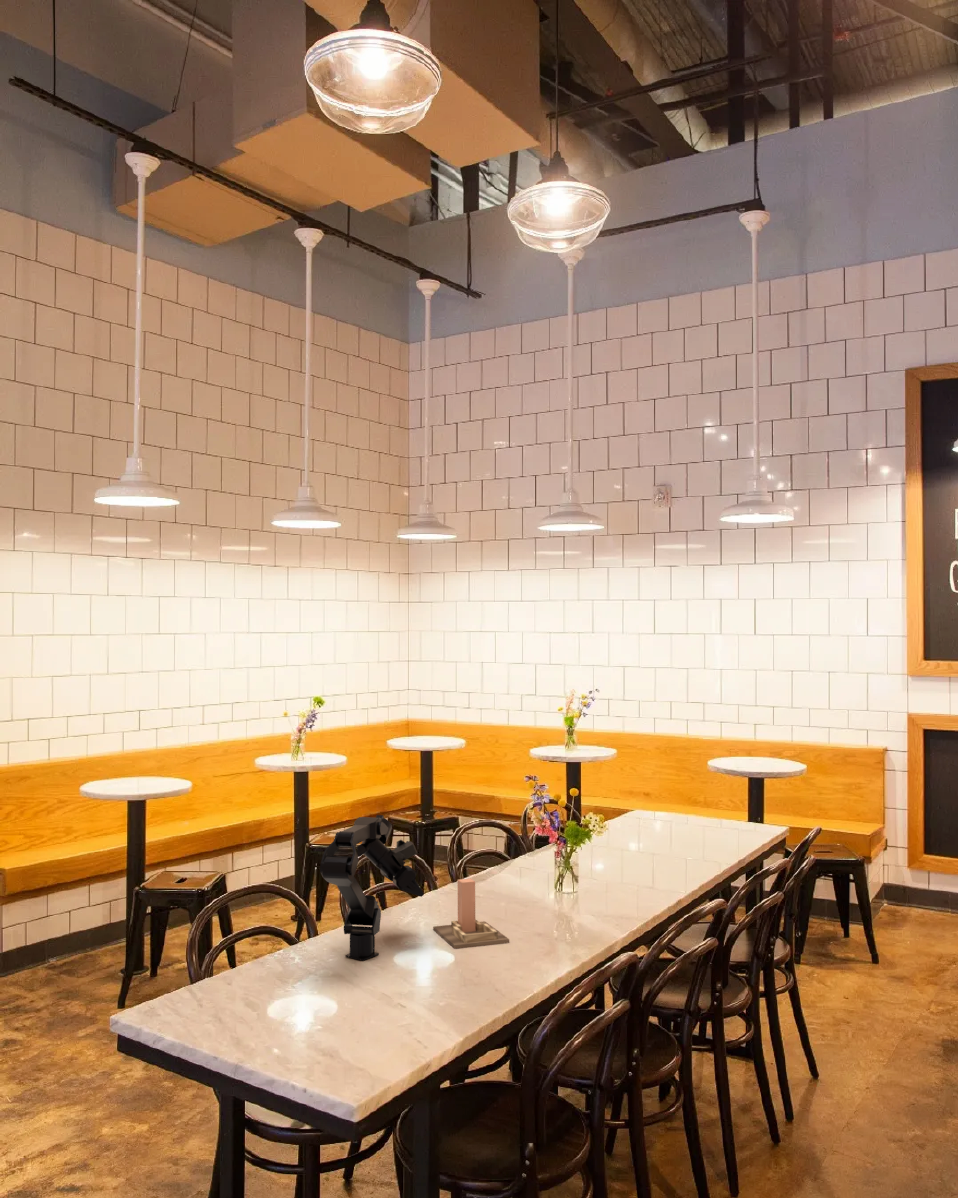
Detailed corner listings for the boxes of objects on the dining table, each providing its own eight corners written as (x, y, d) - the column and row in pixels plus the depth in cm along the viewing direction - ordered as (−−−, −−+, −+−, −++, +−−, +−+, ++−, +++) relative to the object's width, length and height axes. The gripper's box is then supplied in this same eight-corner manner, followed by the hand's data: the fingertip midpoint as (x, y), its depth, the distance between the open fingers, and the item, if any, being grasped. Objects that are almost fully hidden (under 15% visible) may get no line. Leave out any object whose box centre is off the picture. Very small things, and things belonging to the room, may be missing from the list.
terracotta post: (462, 932, 286) (461, 882, 287) (457, 929, 290) (457, 879, 291) (475, 931, 287) (475, 881, 288) (470, 927, 291) (470, 878, 292)
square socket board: (509, 942, 279) (509, 931, 279) (454, 949, 274) (454, 937, 274) (484, 924, 298) (484, 914, 298) (433, 930, 293) (433, 919, 293)
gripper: (408, 838, 273) (447, 876, 276) (391, 827, 290) (428, 863, 293) (380, 870, 270) (419, 908, 273) (364, 857, 287) (402, 893, 290)
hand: (418, 891), depth 282 cm, fingers open, 9 cm apart
